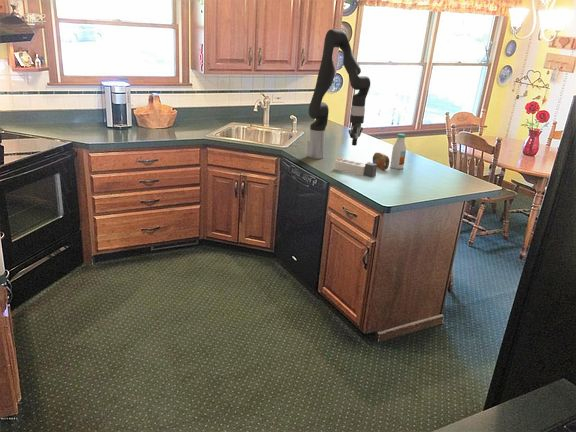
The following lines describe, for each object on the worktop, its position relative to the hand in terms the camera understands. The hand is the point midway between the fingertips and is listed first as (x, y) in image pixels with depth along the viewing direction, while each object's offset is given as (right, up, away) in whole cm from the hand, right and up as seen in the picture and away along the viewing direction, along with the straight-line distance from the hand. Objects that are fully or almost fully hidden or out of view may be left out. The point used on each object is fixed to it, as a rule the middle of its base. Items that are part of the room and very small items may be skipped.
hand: (354, 145), depth 277 cm
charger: (+8, -16, 0) cm, 18 cm away
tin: (+17, -11, +16) cm, 26 cm away
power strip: (-1, -14, +6) cm, 15 cm away
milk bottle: (+28, -11, +18) cm, 35 cm away
